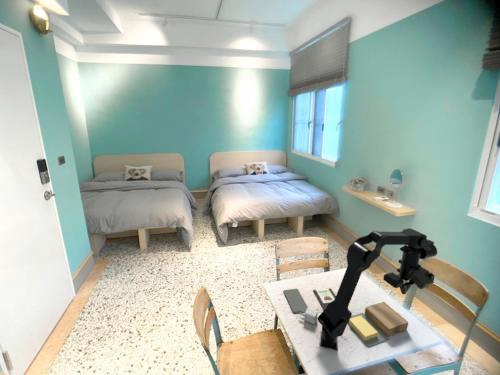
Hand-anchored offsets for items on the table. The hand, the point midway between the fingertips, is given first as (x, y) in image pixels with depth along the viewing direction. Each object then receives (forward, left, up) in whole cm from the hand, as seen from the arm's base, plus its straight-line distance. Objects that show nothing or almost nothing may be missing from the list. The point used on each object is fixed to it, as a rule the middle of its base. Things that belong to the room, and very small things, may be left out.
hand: (403, 293), depth 104 cm
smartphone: (-3, +43, -13) cm, 45 cm away
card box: (-12, +15, -10) cm, 22 cm away
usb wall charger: (-12, +37, -12) cm, 41 cm away
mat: (-11, +14, -12) cm, 21 cm away
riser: (-5, +6, -12) cm, 14 cm away
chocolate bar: (0, +28, -13) cm, 31 cm away
